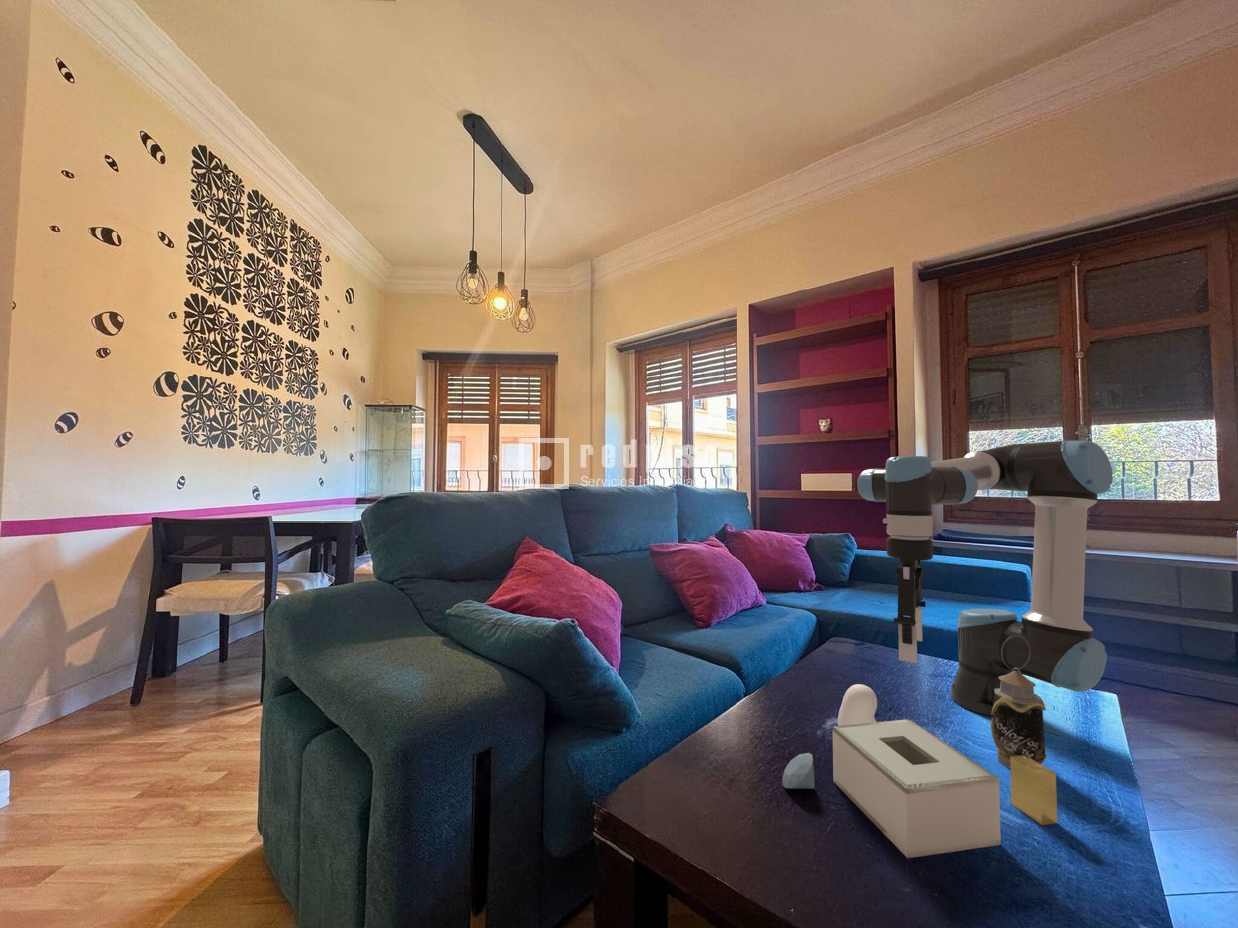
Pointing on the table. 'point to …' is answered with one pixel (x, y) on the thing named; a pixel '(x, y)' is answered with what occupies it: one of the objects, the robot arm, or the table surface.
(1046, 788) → the tan rectangular block
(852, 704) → the figurine
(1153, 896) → the table surface
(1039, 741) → the ring-topped bottle ornament
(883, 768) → the coin box
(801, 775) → the gemstone
